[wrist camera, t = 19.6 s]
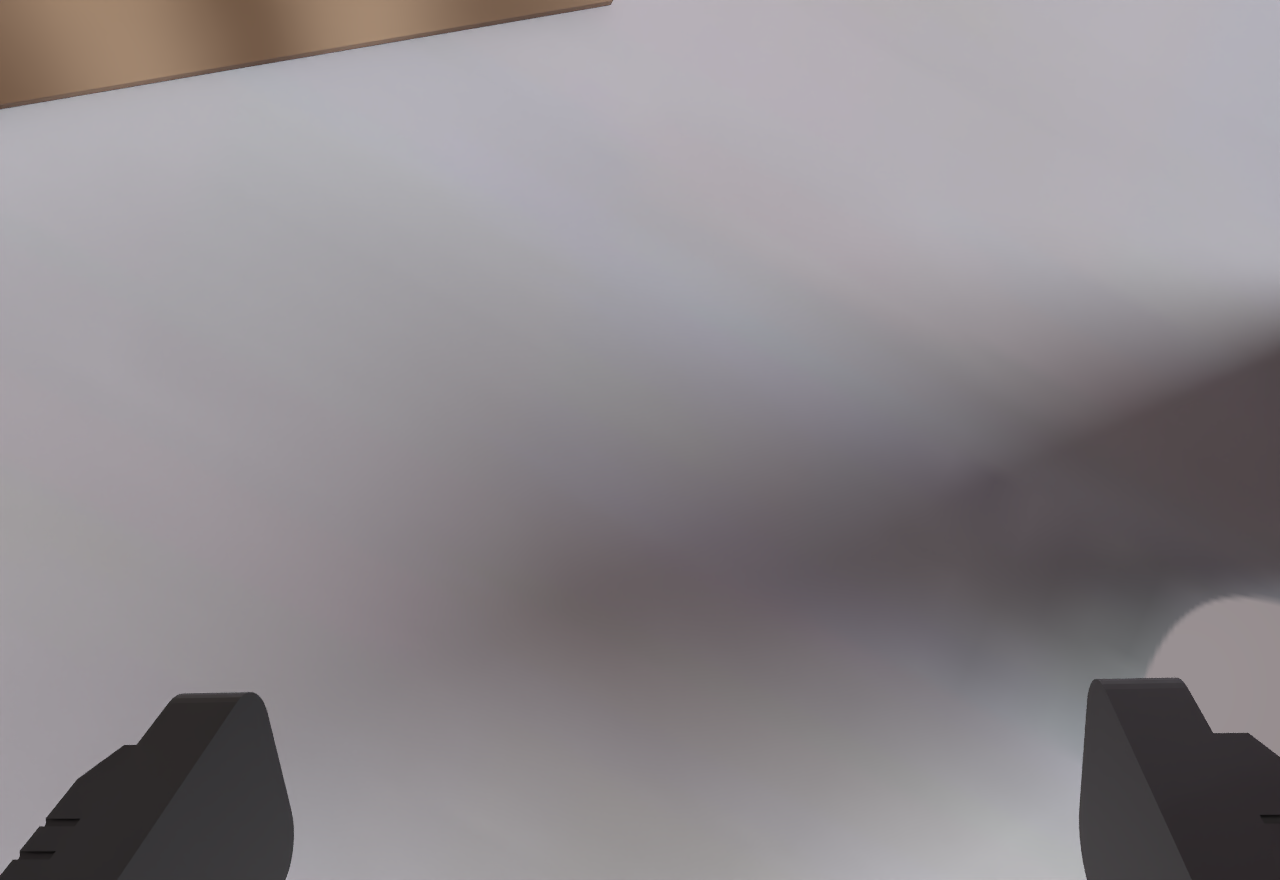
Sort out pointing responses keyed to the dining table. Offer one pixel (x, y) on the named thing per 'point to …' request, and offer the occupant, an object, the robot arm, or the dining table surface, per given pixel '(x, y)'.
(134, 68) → the square tan tray
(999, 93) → the dining table surface
